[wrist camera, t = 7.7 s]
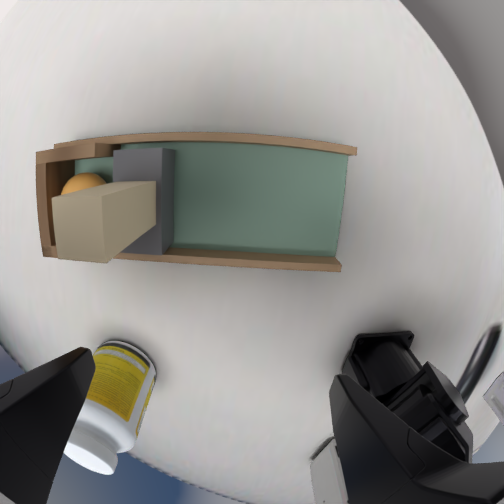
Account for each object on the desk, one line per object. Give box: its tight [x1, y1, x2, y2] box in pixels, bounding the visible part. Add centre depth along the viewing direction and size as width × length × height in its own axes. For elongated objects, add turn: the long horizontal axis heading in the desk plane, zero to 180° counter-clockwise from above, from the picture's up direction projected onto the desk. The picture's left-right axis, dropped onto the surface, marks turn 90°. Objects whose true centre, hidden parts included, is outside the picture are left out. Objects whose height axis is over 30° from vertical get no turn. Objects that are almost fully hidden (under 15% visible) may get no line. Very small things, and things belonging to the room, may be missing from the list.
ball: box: [61, 172, 107, 195], centre depth 15 cm, size 4×4×4 cm
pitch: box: [54, 132, 357, 272], centre depth 17 cm, size 20×8×2 cm, turn 86°
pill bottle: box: [63, 341, 156, 475], centre depth 17 cm, size 6×6×12 cm
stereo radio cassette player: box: [310, 438, 349, 504], centre depth 20 cm, size 21×8×20 cm, turn 80°
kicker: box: [52, 148, 175, 263], centre depth 12 cm, size 3×6×9 cm, turn 176°
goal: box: [36, 143, 121, 258], centre depth 15 cm, size 5×7×4 cm
